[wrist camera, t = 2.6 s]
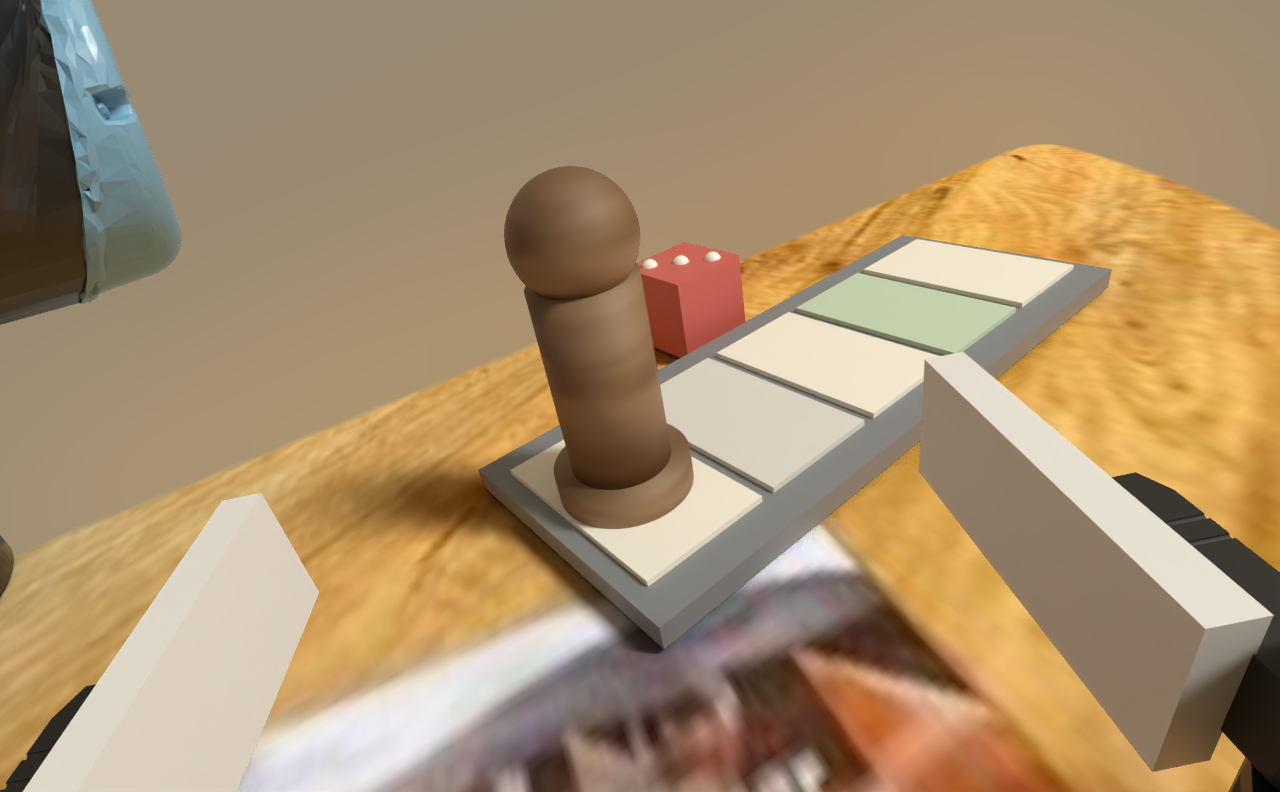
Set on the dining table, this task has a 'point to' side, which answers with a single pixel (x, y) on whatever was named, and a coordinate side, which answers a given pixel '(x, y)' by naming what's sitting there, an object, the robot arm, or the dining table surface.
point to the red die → (691, 296)
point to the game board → (797, 417)
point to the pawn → (597, 348)
